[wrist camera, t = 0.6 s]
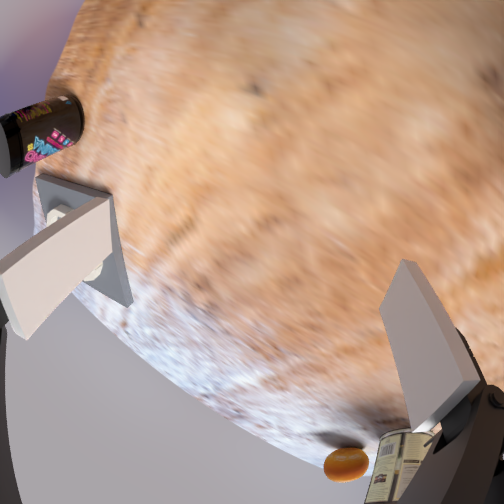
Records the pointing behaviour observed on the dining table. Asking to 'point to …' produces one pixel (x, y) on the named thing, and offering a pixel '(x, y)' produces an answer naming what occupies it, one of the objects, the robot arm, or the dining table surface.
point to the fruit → (346, 464)
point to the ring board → (112, 267)
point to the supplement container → (39, 132)
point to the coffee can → (396, 464)
